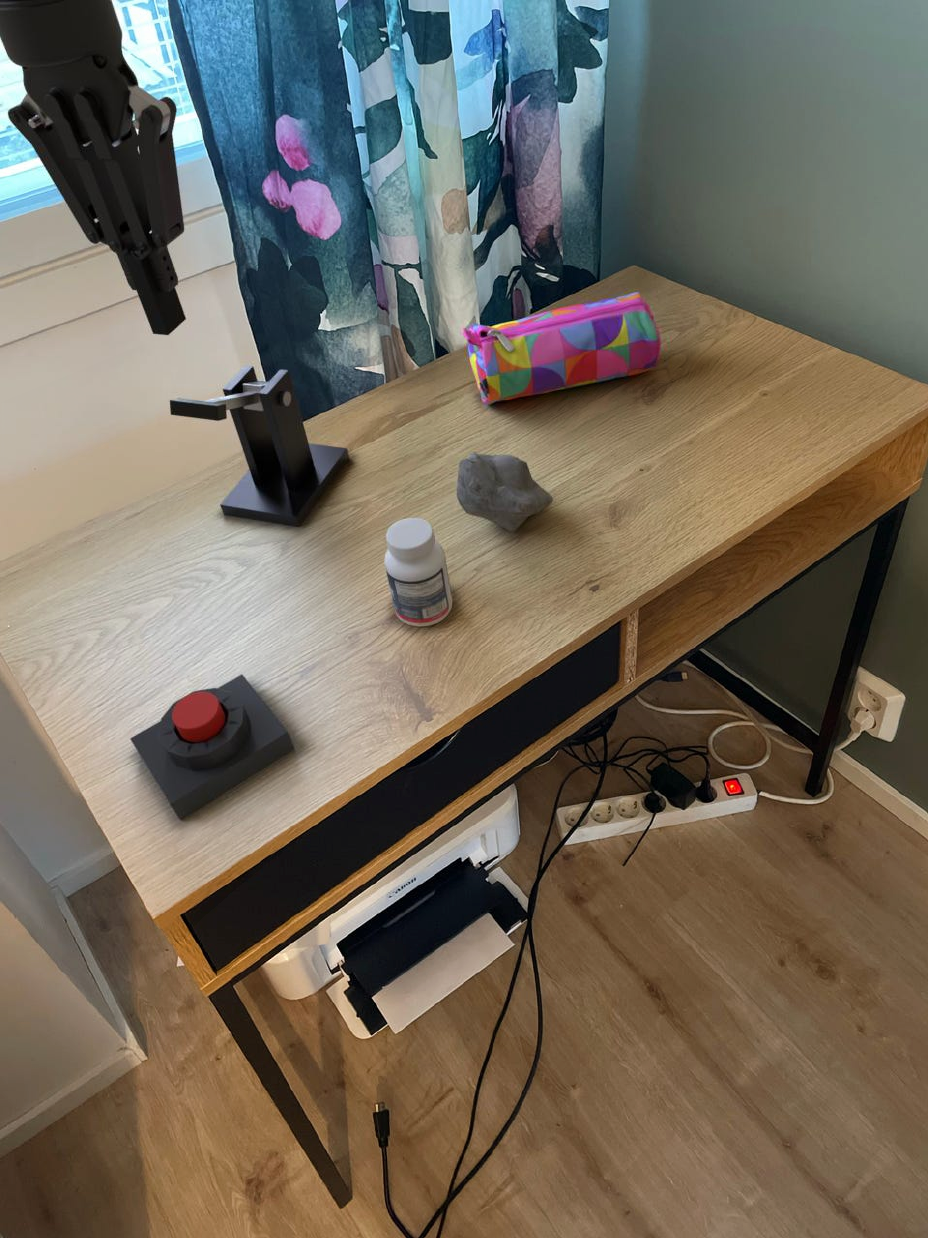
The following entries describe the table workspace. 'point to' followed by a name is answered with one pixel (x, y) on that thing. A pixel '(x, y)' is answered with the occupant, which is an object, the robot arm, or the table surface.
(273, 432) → the black lever stand
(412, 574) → the pill bottle
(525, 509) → the fossil
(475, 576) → the table surface
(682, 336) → the table surface
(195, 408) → the lever
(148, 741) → the button box
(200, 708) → the button
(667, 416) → the table surface
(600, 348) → the pencil case
